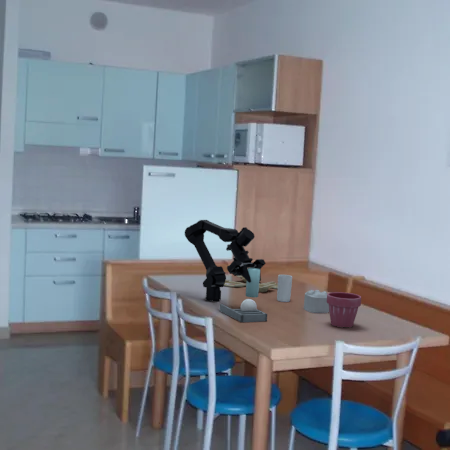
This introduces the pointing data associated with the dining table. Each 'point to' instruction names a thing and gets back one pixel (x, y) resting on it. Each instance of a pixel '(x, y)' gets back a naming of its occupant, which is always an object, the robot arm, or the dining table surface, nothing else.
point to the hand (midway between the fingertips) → (255, 281)
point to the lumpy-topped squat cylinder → (316, 302)
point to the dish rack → (244, 314)
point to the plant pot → (343, 308)
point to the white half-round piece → (248, 305)
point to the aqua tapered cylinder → (253, 282)
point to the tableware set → (262, 287)
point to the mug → (284, 288)
